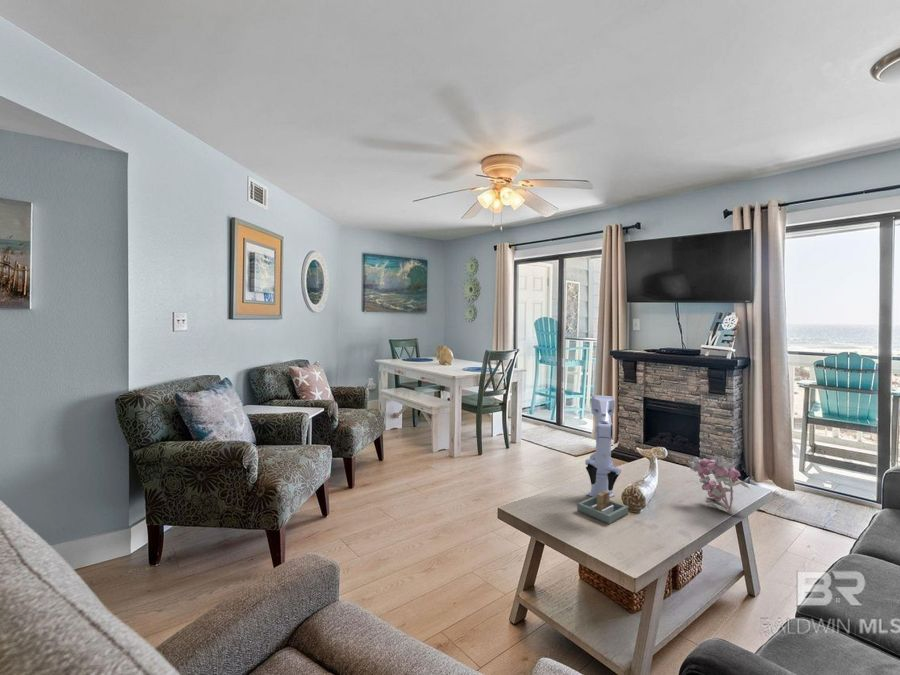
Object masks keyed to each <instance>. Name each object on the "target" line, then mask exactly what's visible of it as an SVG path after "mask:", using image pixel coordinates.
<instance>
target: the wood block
mask: <svg viewBox="0 0 900 675" xmlns="http://www.w3.org/2000/svg"><path fill="white" fill-rule="evenodd" d="M610 498H611V497H610V492H608V491H603V492H601V493H599V494H597V508H596V510H599V511H601V510H603V509H605V508H607V507H609V500H611V499H610Z"/></svg>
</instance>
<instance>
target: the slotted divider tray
mask: <svg viewBox="0 0 900 675" xmlns="http://www.w3.org/2000/svg"><path fill="white" fill-rule="evenodd" d="M596 508H597V495H596V496H593V497H592V496H590V497H589V498H586V499H584V500H582V501H580V502H577V509H576V511H577V512H578V513H580V514H583V515H585V516H587V517H590V518H592V519H595V520H598V521H599V522H602V523H604V524H607V525H611V524H613V523H614V522H617V521H619V520H621V519H622V518H624V517H626V516H628V515H629V506H628V505H626V504H622V503H619V502H617V501H614V500H612V499H610V500H609V507H607V508H605V509H603V510H601V511H599V510H596Z"/></svg>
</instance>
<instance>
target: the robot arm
mask: <svg viewBox="0 0 900 675" xmlns="http://www.w3.org/2000/svg"><path fill="white" fill-rule="evenodd" d="M615 400H616V399H615V396H614V395H613V396H612V395H611V396H610V395H599V394H598V395H596V394H592V395H591V399H590V401H591V404H590V406H591V408H590V410H591V414H592V415H594V416H595V419H596V424H595V442H596V444H595V452H594V453H593V454H591V455H590V456H589V458H587V459H585V465H586V466H585V469H586V471H587V473H588V477H589V480H590V491H589V492H587V493H586V495H587V496H590V497H593V496H596V495H597V494H599V493H601V492H603V491H608V492H610V498H612V497H614V496H615V494H614V493H613V489H614V486H615V483H616V481H617V479H618V477H619V476H620V475H621V471H622V469H621V468H619V467H616V466H615V465H614V462H613V458H612V457H611V456H612V439H613V437H614V424H613V423H612V416H613V414H614V413H615V412H614V411H615V406H616V404H615V403H616V402H615Z"/></svg>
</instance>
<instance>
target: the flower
mask: <svg viewBox="0 0 900 675" xmlns="http://www.w3.org/2000/svg"><path fill="white" fill-rule="evenodd" d="M691 459H692V460H691V461H690V460H687V461H688V464H690V466H689V469H690V470H692V471H693V472H697V475H698V477H699V478H698V481H699V482H700V483H702V485H701V490H702V491H707V495H708V497H709V498H712V499H714V500H715V501H716V502H717V501H722V502H723V504H724V505H725V507H723V506H721V505H719V504H718V503H707V504H706V505H705V506H706V507H708V506H713V507H715V508H717V509H718V510H720V511H723V512H726V513H728V514H730V515H731V516H733V514H732V512H731V509H732V506H733V501H734V495H733V493H734V492H735V491H734V489H733V487H735V486H739V485H741V486H743V487H744V488H748V489H750V486H749V485H747V483H746V482H744V481H743V480H740V479H739V477H741V473H740V471H739V470H737V469H735V468H734V461H731V462H730V461H729V460H727V458H725V455H720V456H718V455H717V454H715V455H714V456H713V459H708V458H702V459H699V457H697V456H693V457H692V458H691ZM713 470H715V472H713ZM711 474H712V475H713V477H714V478H715V480H716V481H715V480H713V479H712V480H711V477H710V475H711ZM722 482H723V484H724V486H726V485H727V486H728V487H729V488H728V487H723V485H722ZM727 493H730V495H729V497H730V498H729V500H730V501H729V502H728V499H727Z"/></svg>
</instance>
